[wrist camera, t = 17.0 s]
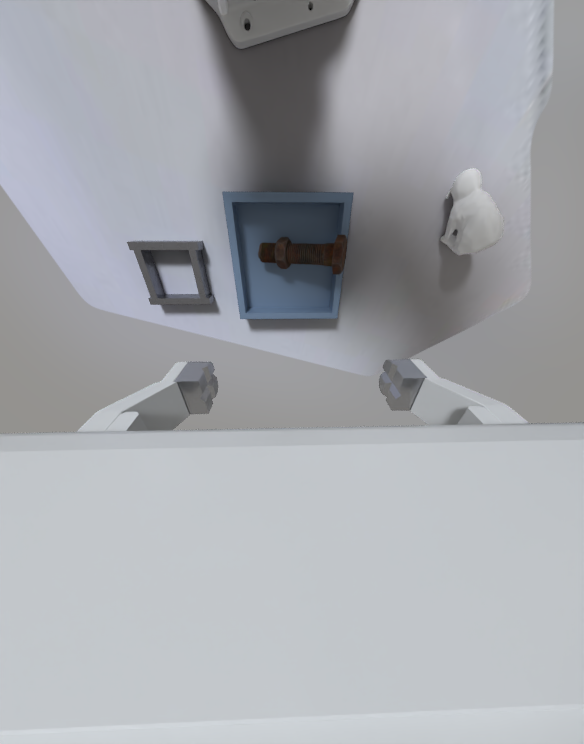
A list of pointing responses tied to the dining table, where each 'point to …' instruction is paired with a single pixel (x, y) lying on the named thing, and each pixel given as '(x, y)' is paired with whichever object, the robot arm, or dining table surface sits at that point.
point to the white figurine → (472, 216)
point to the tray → (301, 225)
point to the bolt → (305, 253)
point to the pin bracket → (153, 279)
